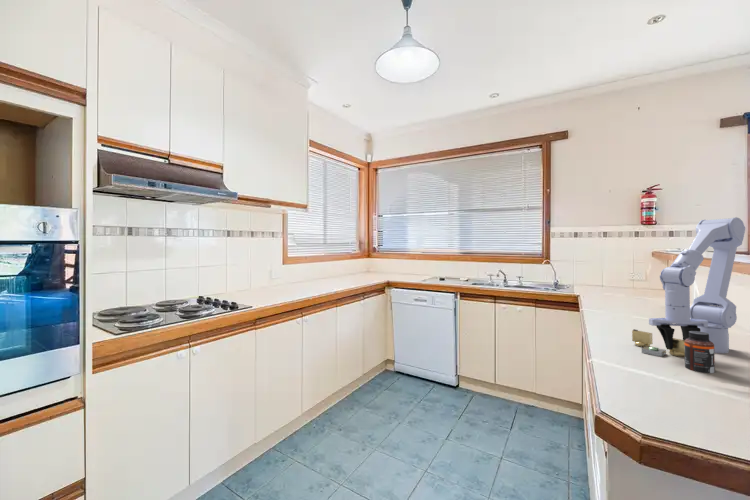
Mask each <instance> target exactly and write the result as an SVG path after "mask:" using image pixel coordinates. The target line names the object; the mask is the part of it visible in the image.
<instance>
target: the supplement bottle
mask: <svg viewBox="0 0 750 500" xmlns="http://www.w3.org/2000/svg"><path fill="white" fill-rule="evenodd" d="M684 344H685V357H684V367H685V368H686V370H689V371H692V372H697V373H701V374H702V373H703V374H714V373H716V367H715V366H716V363H715V360H716V359H715V358H716V357H715V353H714V344H713V342H711V341H710V340H709V334H708V333H706V332H700V331H689V338H687V339H685V342H684Z"/></svg>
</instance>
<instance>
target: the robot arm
mask: <svg viewBox="0 0 750 500" xmlns="http://www.w3.org/2000/svg"><path fill="white" fill-rule="evenodd" d="M745 232H746V227H745V223H744V221H743V220H742V219H741V218H739V217H737V216H736V217H731V218H717V219H701V220H699V222H698V223H697V224H696V226H695V234H696V235H695V237H694V238H693V240H692V242H691V244H690V245H689V248H688V249H683V250H682V251H681V252H680V253H679V254H678V255H677V256H676V258H675V259H674V261H672V263H671V265H670V266H666V267H665V268H663V269H662V270H661V271H660V275H659V280H660V282H661V284H662V289H663V290H664V299H665V300H664V305H665V306H664V308H665V309H664V310H665V311H664V312H665V317H656V318H655V317H652V318H650V317H649V318H648V324H649V325H651V326H653V327H656V329H657V330H658V332H659V333H660V335H661V337H662V339H663V341H664V345H665V348H666V349H667V350H669V349H670V350H672V349H673V338H674V333H675V330H676V329H675V328H672V327H680V329H681V335H682V340H685V339H687V338H689V331H700V332H706V333H708V334H709V340H710V341H711V342H713V344H714V354H729V351H730V333H729V329H730V328H732V327H733V326H734V325H735V324H736V322H737V318H738V317H737V305H735V303H734V302H732V301H731V300H730V299H728V298H727V296H728V291H729V286H730V282H731V276H732V271H733V267H734V263H735V258H736V255H737V254H736V253H737V250H738V247H740V246H742V244H743V242H744V237H745ZM709 248H712V249H713V253H712V257H711V262H710V266H709V270H708V275H707V279H706V284H705V288H704V293H703V294H702V295H699V296H696V297H695V298H693V301H692V304H691V300H690V299H691V298H690V297H691V295H690V293H691V291H690V290H691V289H690V286H692V285H693V284H694V282H695V279H696V275H697V270H698V268H699V267H700V266H701V264H702V263H703V261H704V256H703V254H704V253H705V252H706V250H707V249H709ZM670 350H669V351H670Z"/></svg>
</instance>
